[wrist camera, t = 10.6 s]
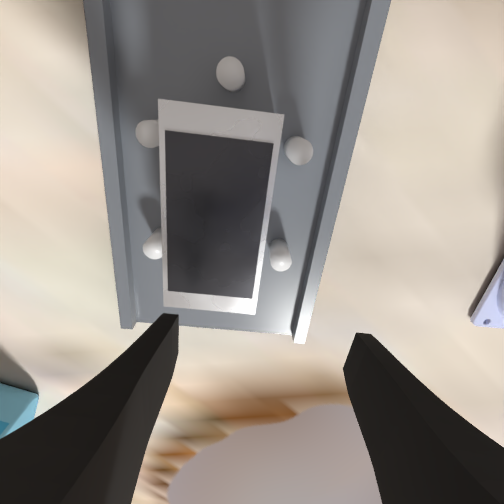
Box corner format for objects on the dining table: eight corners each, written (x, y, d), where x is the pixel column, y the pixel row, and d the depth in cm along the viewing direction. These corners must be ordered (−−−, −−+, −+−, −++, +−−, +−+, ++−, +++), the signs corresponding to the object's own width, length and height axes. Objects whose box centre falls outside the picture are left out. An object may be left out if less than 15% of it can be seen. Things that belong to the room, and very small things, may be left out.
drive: (274, 114, 15) (284, 114, 10) (254, 266, 19) (255, 316, 14) (187, 103, 14) (156, 98, 10) (185, 259, 18) (163, 307, 14)
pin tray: (378, -4, 13) (410, -34, 11) (300, 327, 22) (307, 356, 19) (97, -45, 13) (56, -88, 10) (130, 312, 21) (113, 340, 19)
